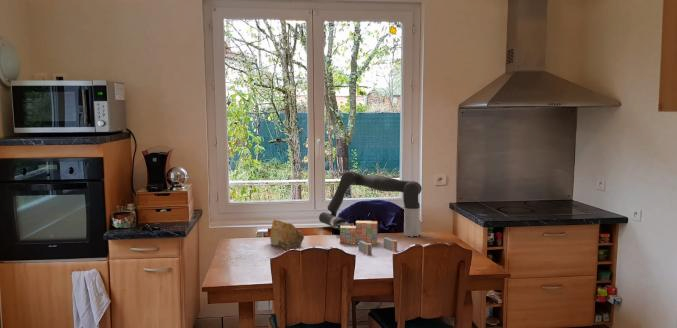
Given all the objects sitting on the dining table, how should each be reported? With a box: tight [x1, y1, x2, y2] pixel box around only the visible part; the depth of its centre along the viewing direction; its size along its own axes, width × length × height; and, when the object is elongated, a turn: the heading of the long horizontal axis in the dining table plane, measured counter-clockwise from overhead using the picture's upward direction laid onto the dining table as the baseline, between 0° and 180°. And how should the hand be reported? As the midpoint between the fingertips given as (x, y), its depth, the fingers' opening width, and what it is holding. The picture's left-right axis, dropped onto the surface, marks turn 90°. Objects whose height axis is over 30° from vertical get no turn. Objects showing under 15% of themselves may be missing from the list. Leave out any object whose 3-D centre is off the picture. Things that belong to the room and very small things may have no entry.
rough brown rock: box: [269, 219, 305, 251], centre depth 252 cm, size 23×17×15 cm
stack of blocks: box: [339, 220, 378, 245], centre depth 262 cm, size 21×6×12 cm, turn 87°
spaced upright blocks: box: [358, 237, 398, 256], centre depth 245 cm, size 18×10×6 cm, turn 117°
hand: (351, 228), depth 271 cm, fingers closed
